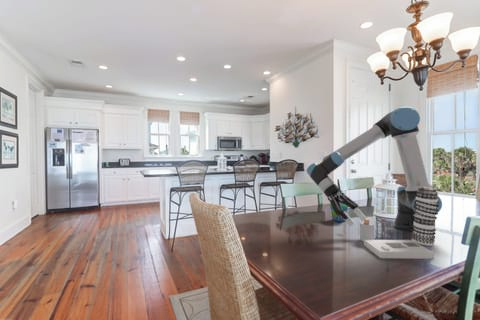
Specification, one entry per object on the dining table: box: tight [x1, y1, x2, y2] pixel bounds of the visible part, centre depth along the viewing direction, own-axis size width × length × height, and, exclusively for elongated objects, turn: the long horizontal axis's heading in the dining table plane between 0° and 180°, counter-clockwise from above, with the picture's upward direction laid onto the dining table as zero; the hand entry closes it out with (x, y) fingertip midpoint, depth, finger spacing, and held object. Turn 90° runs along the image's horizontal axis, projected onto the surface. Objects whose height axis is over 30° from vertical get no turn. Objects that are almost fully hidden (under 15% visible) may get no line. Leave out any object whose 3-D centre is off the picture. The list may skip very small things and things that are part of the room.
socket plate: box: [363, 239, 435, 260], centre depth 101 cm, size 20×14×3 cm
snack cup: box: [329, 203, 349, 223], centre depth 151 cm, size 16×10×10 cm
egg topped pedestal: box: [359, 218, 375, 243], centre depth 114 cm, size 4×4×10 cm
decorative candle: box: [411, 187, 440, 247], centre depth 110 cm, size 9×9×25 cm
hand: (358, 222), depth 116 cm, fingers open, 13 cm apart
